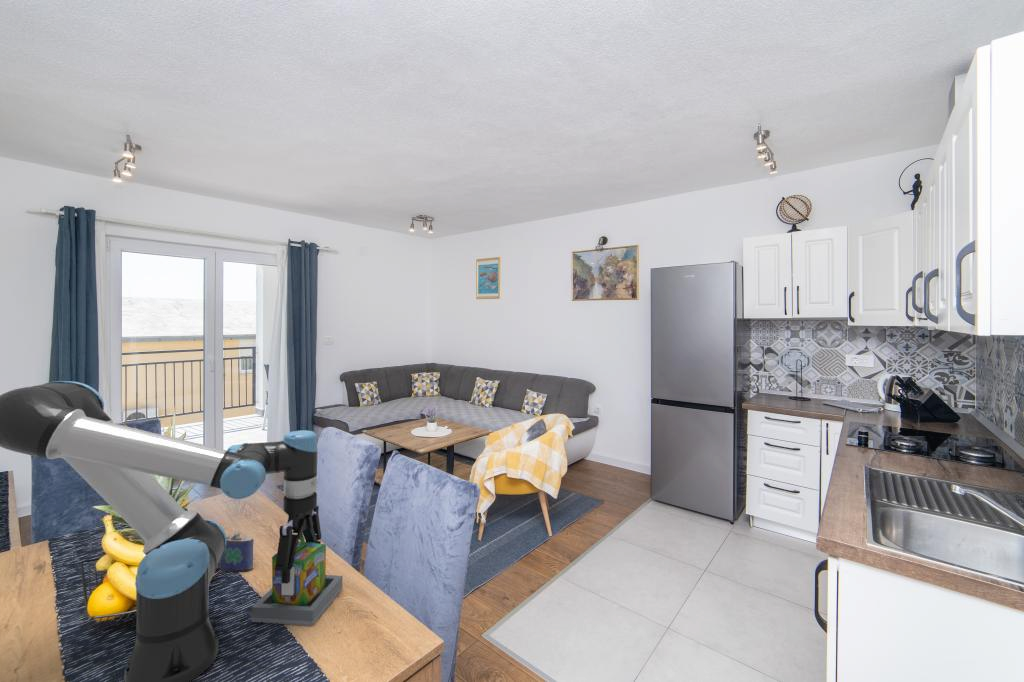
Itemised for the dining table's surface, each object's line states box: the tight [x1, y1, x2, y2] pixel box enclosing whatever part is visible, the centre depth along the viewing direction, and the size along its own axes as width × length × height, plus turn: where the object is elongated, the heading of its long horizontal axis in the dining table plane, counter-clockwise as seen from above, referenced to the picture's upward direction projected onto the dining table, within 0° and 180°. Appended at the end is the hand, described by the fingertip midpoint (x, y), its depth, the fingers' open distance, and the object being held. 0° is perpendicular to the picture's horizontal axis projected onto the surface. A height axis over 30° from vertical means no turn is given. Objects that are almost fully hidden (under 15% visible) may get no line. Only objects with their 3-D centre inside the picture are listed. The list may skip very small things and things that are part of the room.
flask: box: [220, 531, 254, 573], centre depth 126 cm, size 9×3×11 cm, turn 88°
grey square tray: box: [250, 574, 343, 627], centre depth 110 cm, size 15×15×4 cm
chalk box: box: [271, 533, 327, 606], centre depth 110 cm, size 9×9×15 cm
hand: (299, 582), depth 110 cm, fingers closed on chalk box, 9 cm apart
